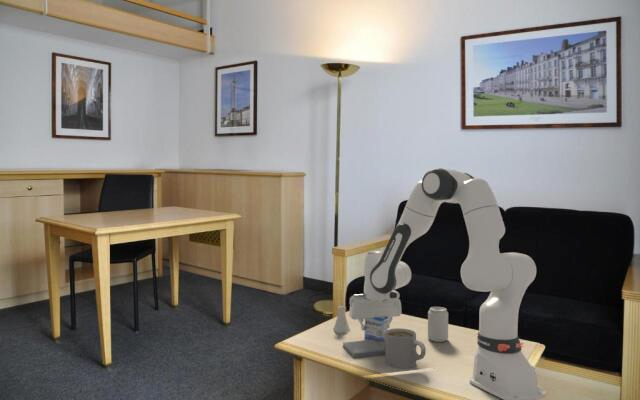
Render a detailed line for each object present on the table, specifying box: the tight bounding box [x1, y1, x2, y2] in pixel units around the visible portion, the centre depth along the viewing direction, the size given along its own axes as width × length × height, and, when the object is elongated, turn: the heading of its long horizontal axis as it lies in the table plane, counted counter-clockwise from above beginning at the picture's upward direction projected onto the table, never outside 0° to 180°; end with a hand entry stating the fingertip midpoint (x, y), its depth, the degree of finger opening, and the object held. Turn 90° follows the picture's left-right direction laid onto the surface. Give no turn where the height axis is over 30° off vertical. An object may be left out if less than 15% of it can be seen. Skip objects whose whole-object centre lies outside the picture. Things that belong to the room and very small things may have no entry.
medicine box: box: [364, 316, 389, 342], centre depth 192 cm, size 8×4×9 cm, turn 64°
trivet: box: [342, 339, 385, 359], centre depth 178 cm, size 12×12×2 cm
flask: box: [332, 305, 351, 334], centre depth 199 cm, size 7×7×10 cm
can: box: [427, 306, 449, 343], centre depth 190 cm, size 8×8×12 cm
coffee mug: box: [384, 327, 427, 369], centre depth 164 cm, size 13×10×10 cm
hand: (375, 329), depth 192 cm, fingers closed on medicine box, 8 cm apart
